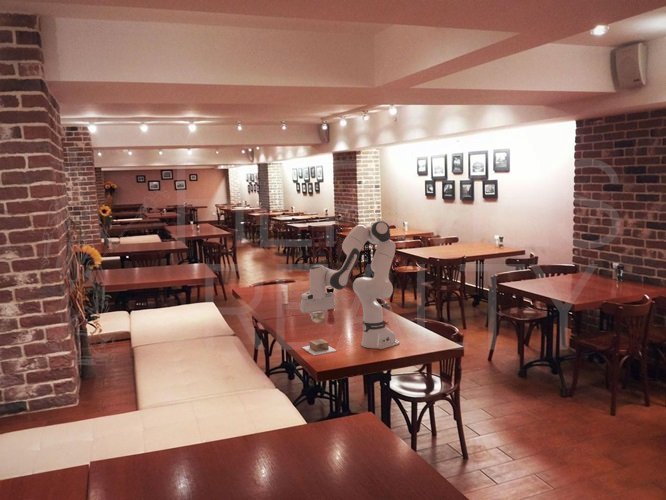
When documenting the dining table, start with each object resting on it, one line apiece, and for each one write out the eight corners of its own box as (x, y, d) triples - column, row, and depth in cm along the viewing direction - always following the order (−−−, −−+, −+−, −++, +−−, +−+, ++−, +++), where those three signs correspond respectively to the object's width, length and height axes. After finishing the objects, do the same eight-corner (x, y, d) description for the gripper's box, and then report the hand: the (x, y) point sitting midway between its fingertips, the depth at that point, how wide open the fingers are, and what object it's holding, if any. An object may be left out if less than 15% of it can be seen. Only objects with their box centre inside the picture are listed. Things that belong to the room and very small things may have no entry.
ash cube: (320, 320, 299) (320, 311, 299) (324, 321, 295) (324, 313, 294) (312, 321, 297) (312, 312, 296) (316, 323, 293) (315, 314, 292)
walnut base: (322, 345, 303) (322, 338, 303) (328, 349, 296) (328, 342, 296) (309, 347, 300) (309, 341, 299) (315, 351, 293) (315, 344, 292)
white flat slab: (323, 344, 308) (323, 343, 308) (336, 351, 294) (336, 350, 294) (301, 348, 302) (301, 347, 302) (313, 355, 288) (313, 354, 288)
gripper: (331, 291, 302) (332, 314, 303) (298, 295, 292) (299, 319, 294) (336, 292, 296) (337, 317, 298) (303, 297, 287) (303, 321, 288)
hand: (318, 318), depth 296 cm, fingers closed on ash cube, 5 cm apart
